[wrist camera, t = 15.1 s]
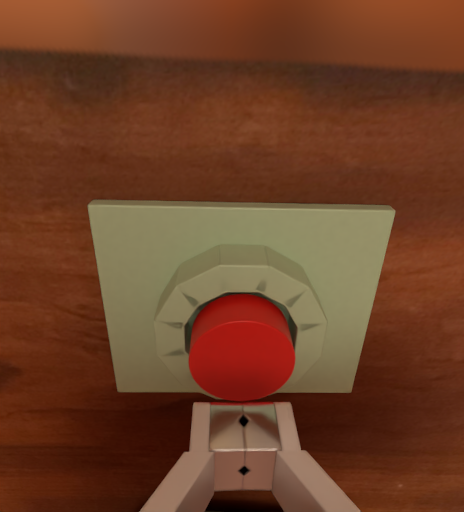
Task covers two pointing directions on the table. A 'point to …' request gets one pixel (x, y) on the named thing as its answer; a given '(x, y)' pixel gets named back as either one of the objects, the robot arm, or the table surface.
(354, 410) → the table surface
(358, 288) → the button box
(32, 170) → the table surface
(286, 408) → the robot arm
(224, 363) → the button
